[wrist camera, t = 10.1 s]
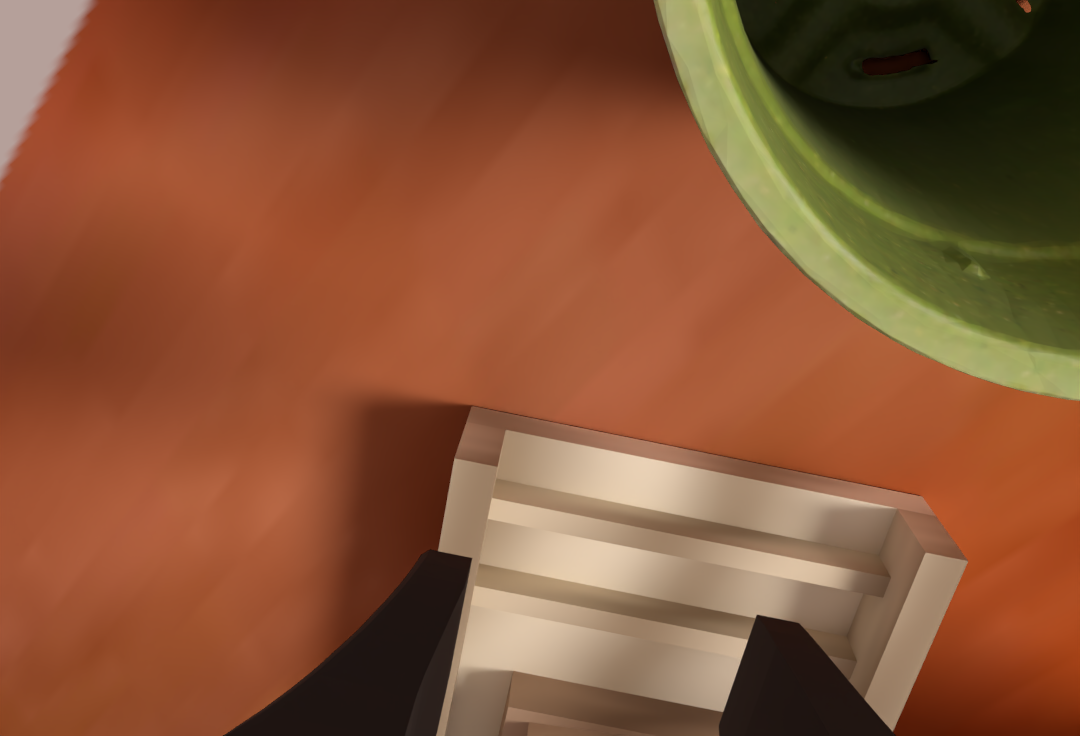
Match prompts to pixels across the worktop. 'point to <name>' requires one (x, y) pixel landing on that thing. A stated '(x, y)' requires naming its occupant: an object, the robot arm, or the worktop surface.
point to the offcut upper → (561, 731)
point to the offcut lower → (599, 710)
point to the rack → (674, 569)
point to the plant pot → (908, 164)
